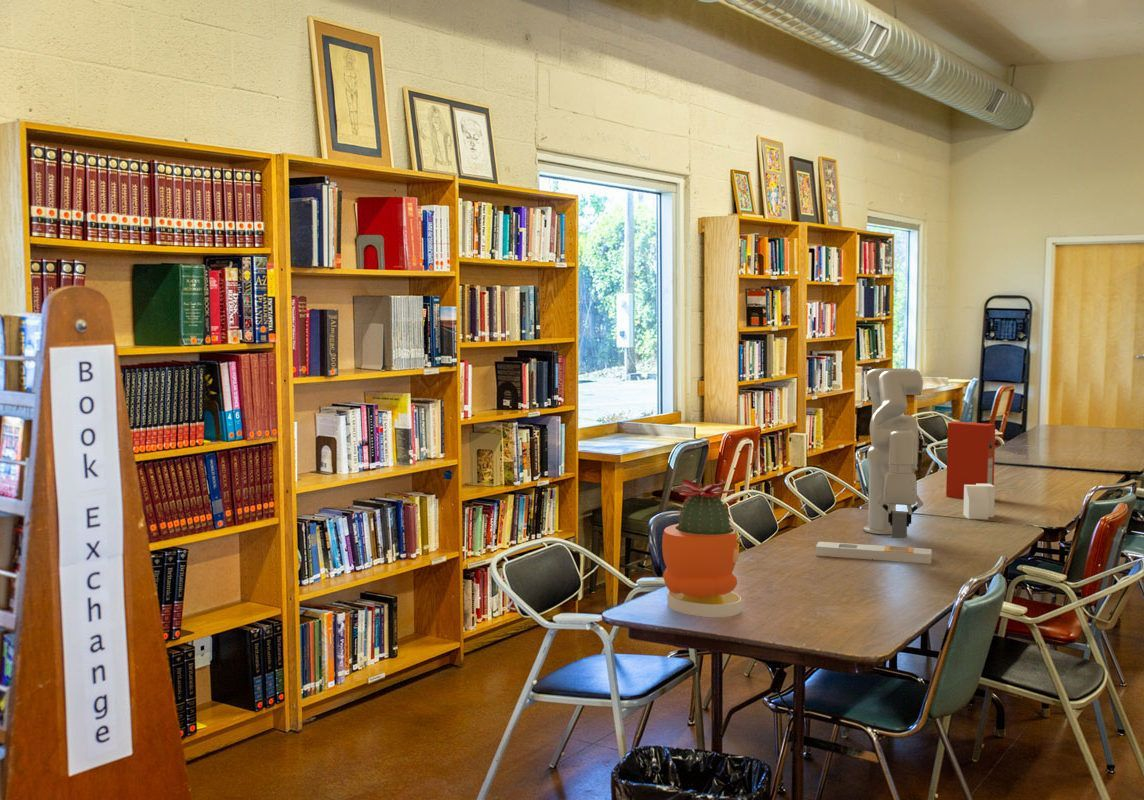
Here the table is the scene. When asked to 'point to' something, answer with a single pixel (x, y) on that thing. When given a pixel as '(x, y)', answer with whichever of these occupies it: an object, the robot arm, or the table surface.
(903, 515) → the steel block
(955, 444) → the file binder
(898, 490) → the robot arm
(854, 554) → the rail
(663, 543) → the potted cactus
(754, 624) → the table surface
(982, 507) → the white upright cube
